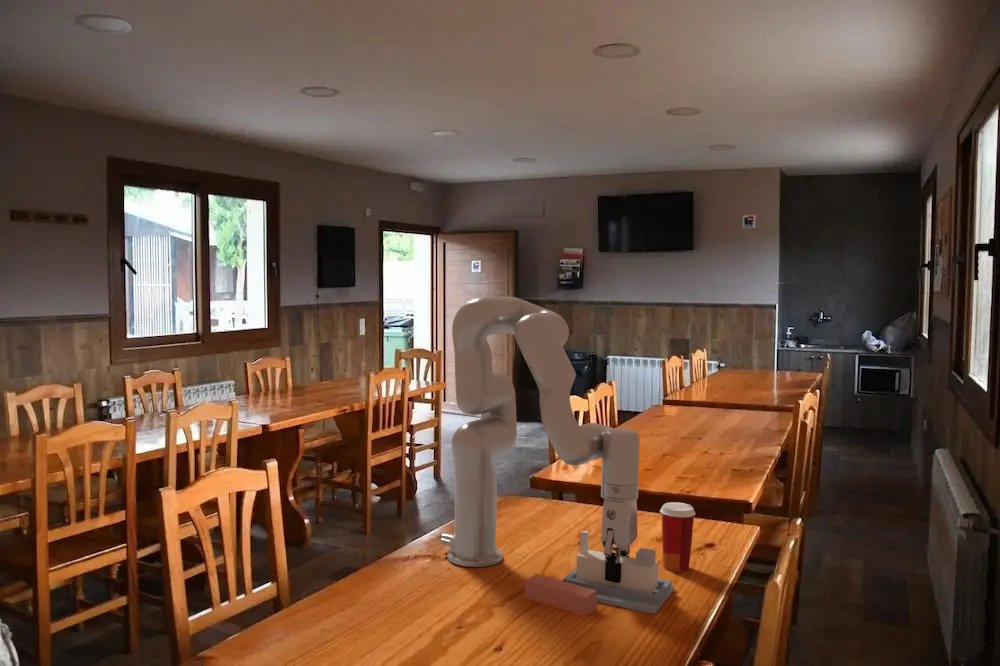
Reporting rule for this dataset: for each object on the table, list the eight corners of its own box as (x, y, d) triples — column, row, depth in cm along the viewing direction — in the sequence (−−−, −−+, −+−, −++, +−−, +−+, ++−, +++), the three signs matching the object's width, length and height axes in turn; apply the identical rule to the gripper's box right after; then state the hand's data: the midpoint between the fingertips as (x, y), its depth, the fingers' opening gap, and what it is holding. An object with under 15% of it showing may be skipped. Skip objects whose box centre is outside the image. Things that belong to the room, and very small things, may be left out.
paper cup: (688, 561, 183) (690, 501, 183) (697, 574, 176) (699, 511, 175) (654, 561, 183) (656, 501, 182) (662, 573, 176) (664, 511, 175)
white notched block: (576, 579, 166) (577, 534, 166) (584, 572, 170) (585, 528, 170) (651, 593, 159) (652, 546, 159) (657, 586, 163) (659, 540, 163)
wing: (525, 599, 161) (525, 579, 161) (536, 593, 164) (536, 574, 164) (585, 617, 153) (586, 596, 153) (596, 610, 156) (596, 590, 156)
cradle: (558, 594, 163) (559, 582, 163) (583, 572, 176) (583, 561, 175) (654, 614, 154) (655, 601, 154) (673, 589, 167) (674, 577, 166)
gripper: (624, 502, 154) (621, 594, 156) (649, 483, 169) (646, 567, 171) (587, 496, 158) (585, 587, 159) (615, 478, 173) (612, 561, 174)
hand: (616, 576), depth 165 cm, fingers closed on white notched block, 4 cm apart
